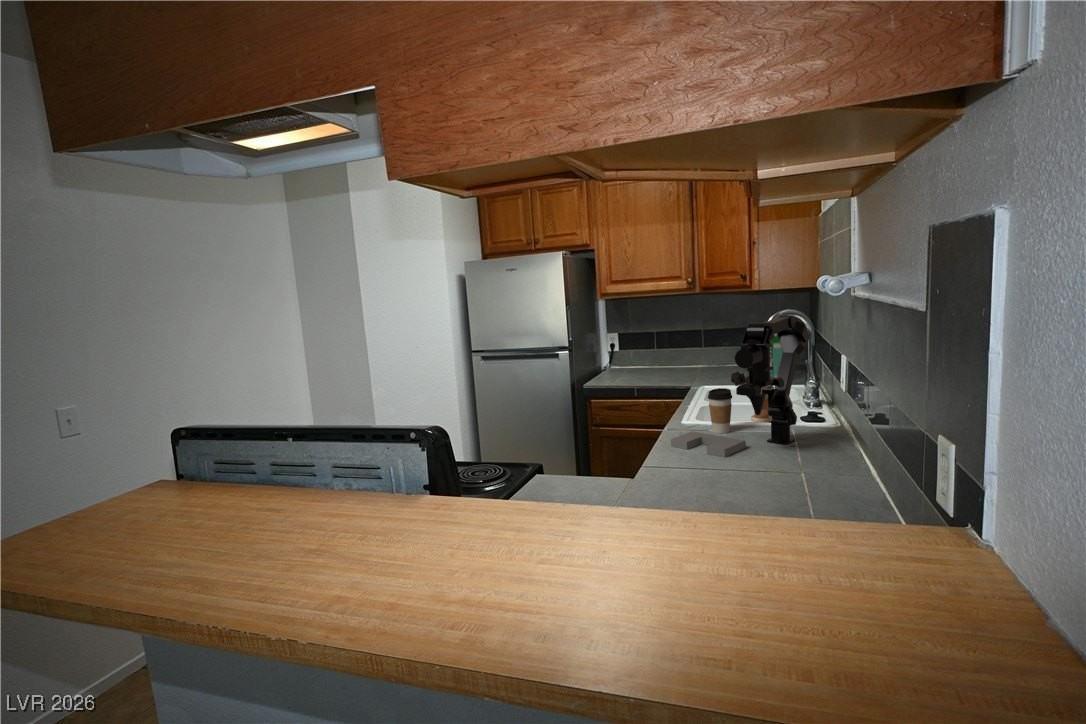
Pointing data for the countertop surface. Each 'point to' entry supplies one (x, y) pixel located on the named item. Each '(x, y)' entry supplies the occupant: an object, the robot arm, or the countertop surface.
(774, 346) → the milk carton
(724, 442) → the gray u-shaped block
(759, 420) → the spool
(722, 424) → the coffee cup
